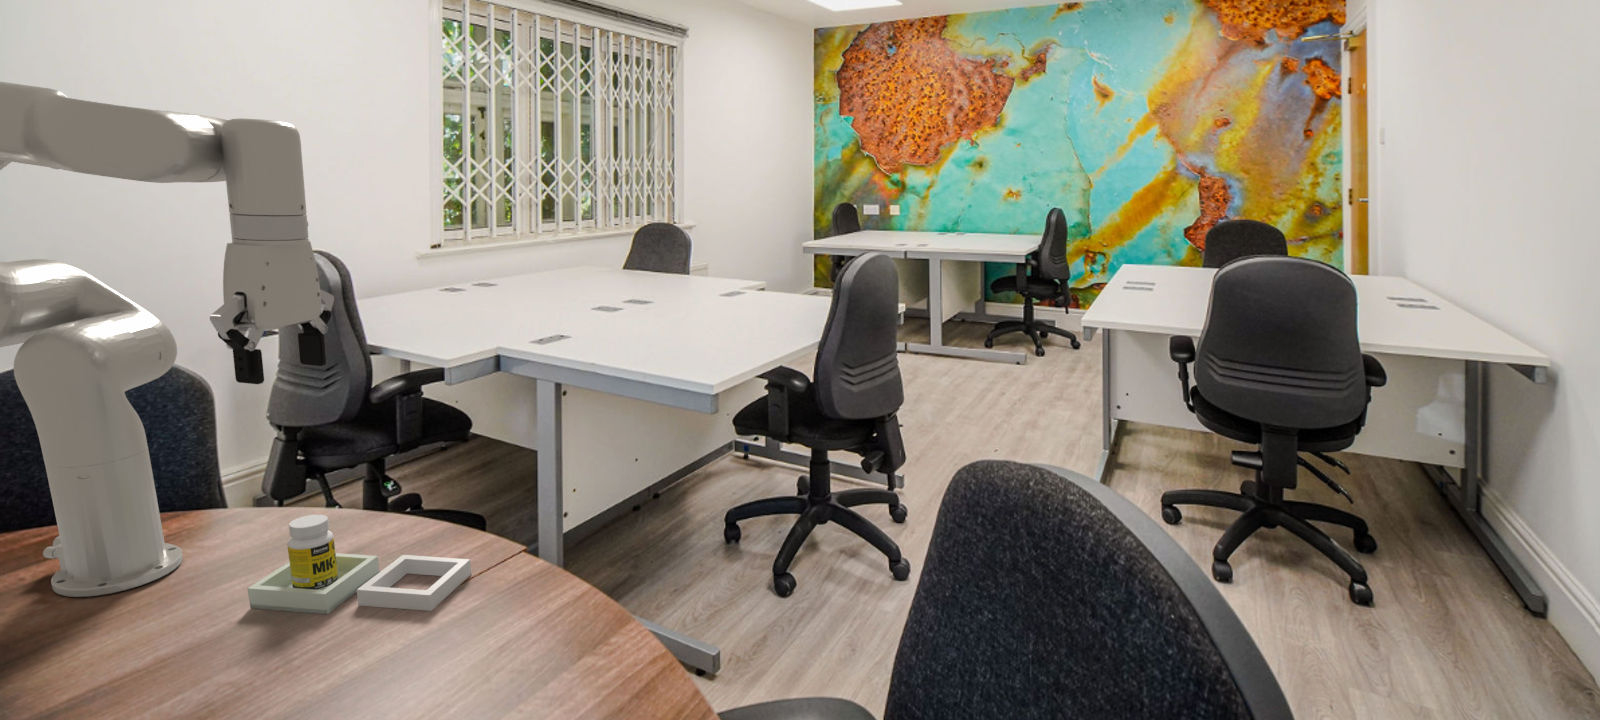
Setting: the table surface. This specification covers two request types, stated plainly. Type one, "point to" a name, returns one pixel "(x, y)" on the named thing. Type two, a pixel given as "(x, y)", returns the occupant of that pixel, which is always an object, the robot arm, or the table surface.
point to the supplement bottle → (312, 553)
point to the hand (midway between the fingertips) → (283, 373)
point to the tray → (283, 597)
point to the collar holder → (384, 596)
